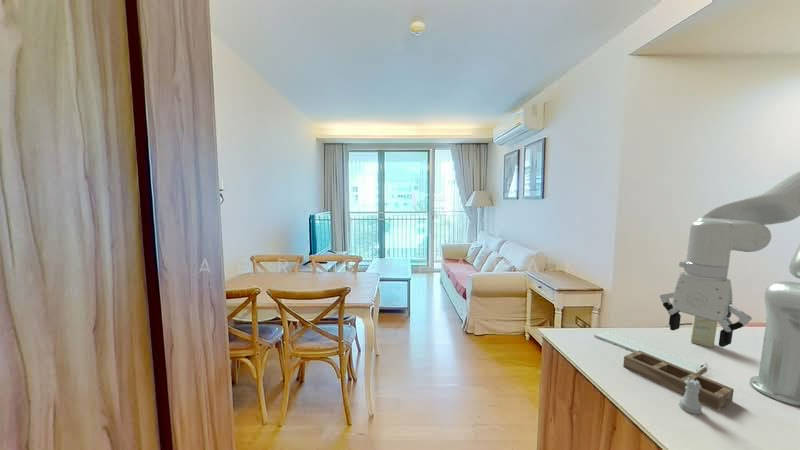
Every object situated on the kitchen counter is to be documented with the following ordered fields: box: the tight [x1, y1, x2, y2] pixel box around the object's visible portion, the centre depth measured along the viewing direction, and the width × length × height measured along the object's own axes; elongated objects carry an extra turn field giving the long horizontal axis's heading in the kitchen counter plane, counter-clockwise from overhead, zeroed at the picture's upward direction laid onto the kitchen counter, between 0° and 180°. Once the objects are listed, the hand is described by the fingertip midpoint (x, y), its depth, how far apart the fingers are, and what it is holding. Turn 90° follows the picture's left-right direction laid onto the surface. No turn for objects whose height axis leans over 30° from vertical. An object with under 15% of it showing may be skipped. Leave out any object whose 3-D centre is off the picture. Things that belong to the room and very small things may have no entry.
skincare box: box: [690, 315, 718, 349], centre depth 118 cm, size 6×4×12 cm
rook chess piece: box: [678, 378, 703, 415], centre depth 82 cm, size 4×4×8 cm
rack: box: [622, 350, 735, 412], centre depth 94 cm, size 9×23×4 cm, turn 26°
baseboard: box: [593, 330, 708, 375], centre depth 113 cm, size 30×3×10 cm
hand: (697, 336), depth 80 cm, fingers open, 9 cm apart
